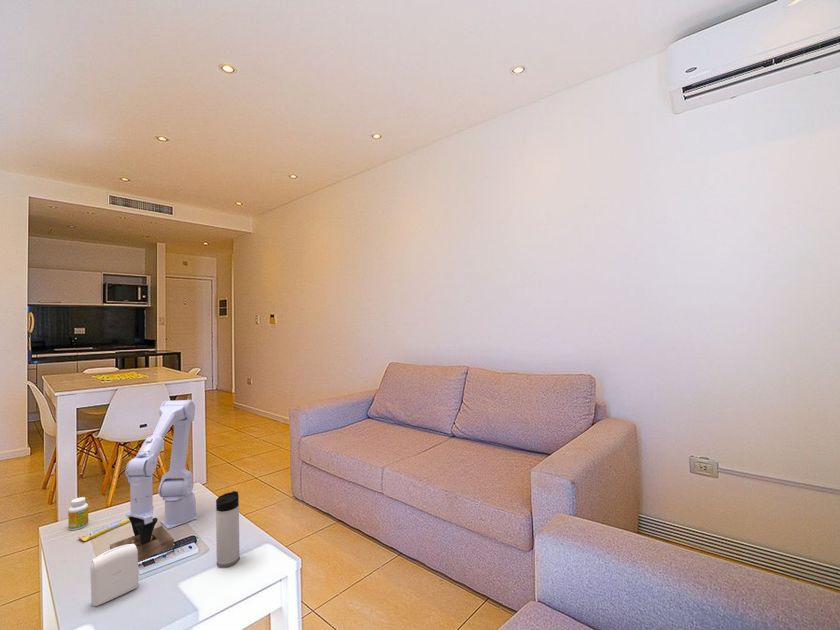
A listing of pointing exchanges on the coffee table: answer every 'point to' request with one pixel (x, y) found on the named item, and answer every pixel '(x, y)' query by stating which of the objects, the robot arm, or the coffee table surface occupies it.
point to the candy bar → (105, 529)
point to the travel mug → (227, 529)
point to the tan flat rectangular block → (138, 541)
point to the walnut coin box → (150, 543)
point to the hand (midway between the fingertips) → (142, 538)
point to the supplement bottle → (78, 514)
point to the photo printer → (114, 573)
